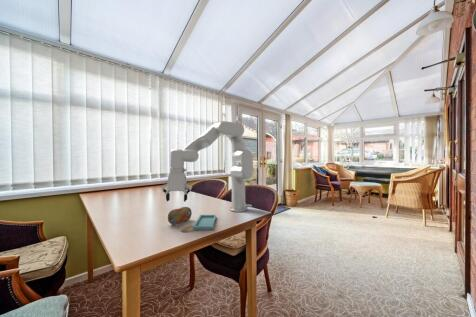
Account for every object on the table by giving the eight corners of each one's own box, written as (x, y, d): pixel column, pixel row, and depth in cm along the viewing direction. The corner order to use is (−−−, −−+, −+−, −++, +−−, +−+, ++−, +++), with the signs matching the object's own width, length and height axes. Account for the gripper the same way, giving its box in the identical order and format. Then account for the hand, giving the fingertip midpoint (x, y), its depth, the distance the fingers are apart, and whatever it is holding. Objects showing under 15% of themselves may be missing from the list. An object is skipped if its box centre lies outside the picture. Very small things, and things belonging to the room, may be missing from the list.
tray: (216, 217, 126) (216, 214, 126) (212, 230, 105) (212, 226, 105) (200, 217, 126) (199, 214, 126) (192, 230, 105) (192, 226, 105)
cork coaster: (196, 226, 111) (196, 225, 111) (193, 232, 103) (193, 231, 103) (182, 226, 110) (182, 225, 110) (177, 232, 102) (177, 231, 102)
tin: (170, 226, 110) (170, 211, 110) (166, 225, 112) (166, 210, 112) (192, 219, 122) (192, 205, 122) (188, 218, 124) (188, 205, 124)
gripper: (193, 170, 121) (193, 199, 121) (164, 170, 121) (163, 199, 121) (190, 171, 113) (190, 202, 113) (159, 171, 113) (158, 202, 113)
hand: (176, 201), depth 117 cm, fingers open, 9 cm apart
